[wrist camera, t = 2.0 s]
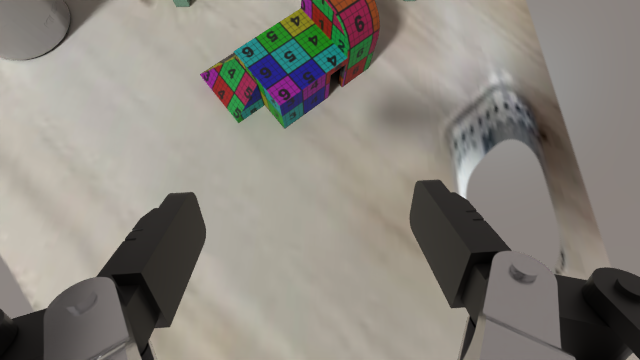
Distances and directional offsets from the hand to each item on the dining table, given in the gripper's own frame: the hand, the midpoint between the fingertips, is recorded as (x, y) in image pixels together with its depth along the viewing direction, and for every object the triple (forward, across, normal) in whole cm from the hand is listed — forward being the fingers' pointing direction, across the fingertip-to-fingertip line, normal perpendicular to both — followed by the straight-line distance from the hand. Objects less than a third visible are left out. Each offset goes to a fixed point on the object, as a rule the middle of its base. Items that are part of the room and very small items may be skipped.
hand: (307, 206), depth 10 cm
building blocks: (+24, +2, 0) cm, 24 cm away
